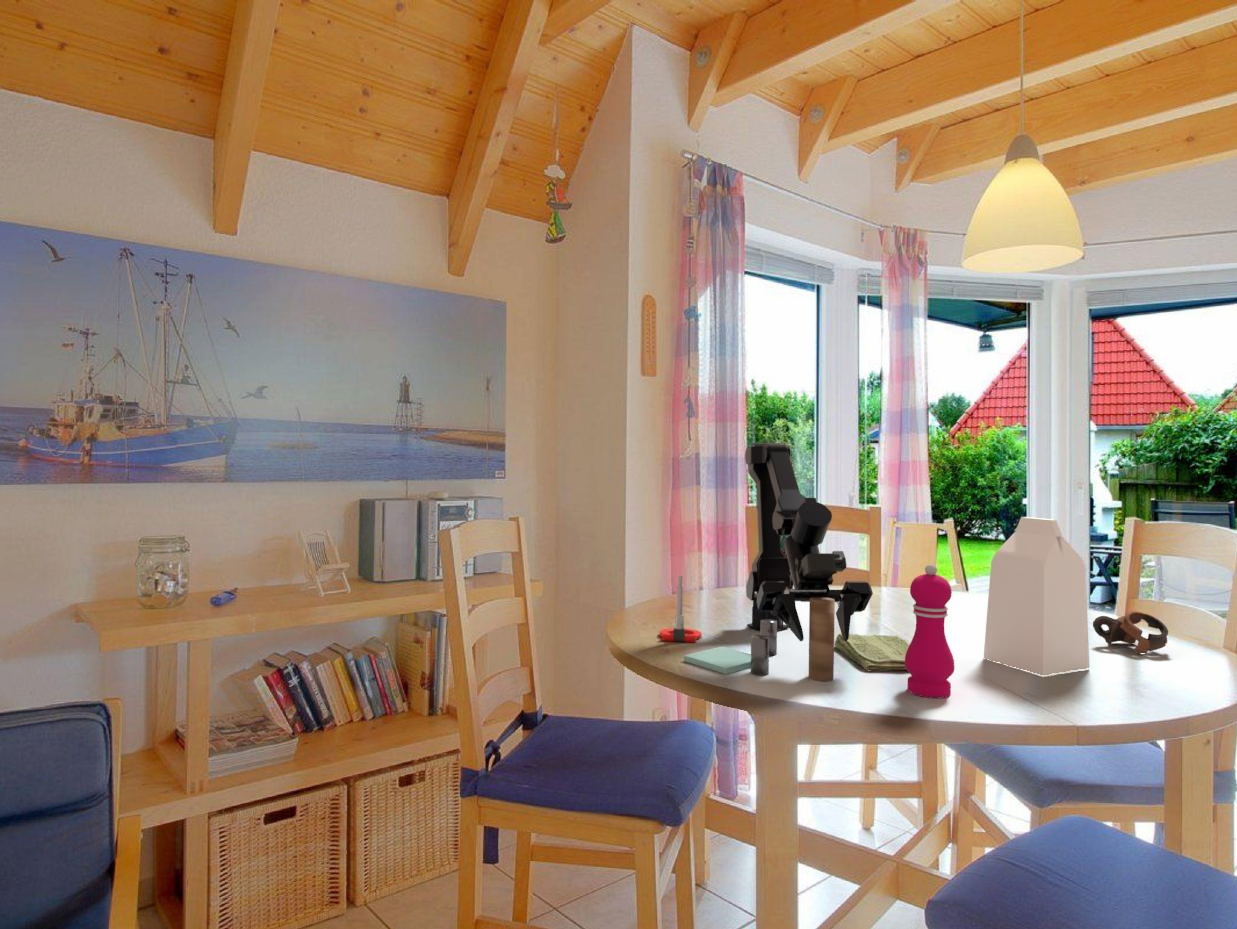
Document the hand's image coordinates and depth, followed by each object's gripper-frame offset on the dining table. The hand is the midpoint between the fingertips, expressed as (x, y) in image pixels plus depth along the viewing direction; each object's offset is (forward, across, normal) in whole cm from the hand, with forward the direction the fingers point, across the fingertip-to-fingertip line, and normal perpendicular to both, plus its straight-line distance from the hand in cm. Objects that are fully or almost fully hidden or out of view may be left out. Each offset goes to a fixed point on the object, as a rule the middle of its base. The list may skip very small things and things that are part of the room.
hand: (824, 639), depth 124 cm
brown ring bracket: (-8, +66, +18) cm, 69 cm away
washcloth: (-4, +15, +14) cm, 21 cm away
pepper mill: (+9, +15, 0) cm, 17 cm away
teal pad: (-3, -14, +12) cm, 19 cm away
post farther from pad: (-7, -5, +16) cm, 18 cm away
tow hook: (-16, -20, +26) cm, 36 cm away
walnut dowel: (+4, 0, +6) cm, 7 cm away
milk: (-1, +41, +11) cm, 42 cm away
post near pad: (+2, -10, +8) cm, 12 cm away
